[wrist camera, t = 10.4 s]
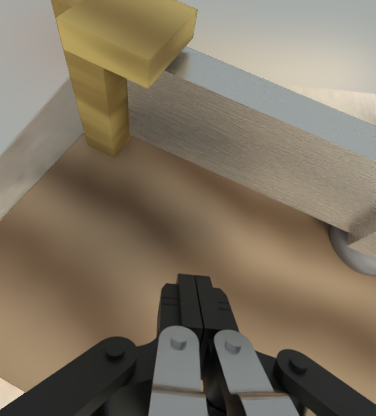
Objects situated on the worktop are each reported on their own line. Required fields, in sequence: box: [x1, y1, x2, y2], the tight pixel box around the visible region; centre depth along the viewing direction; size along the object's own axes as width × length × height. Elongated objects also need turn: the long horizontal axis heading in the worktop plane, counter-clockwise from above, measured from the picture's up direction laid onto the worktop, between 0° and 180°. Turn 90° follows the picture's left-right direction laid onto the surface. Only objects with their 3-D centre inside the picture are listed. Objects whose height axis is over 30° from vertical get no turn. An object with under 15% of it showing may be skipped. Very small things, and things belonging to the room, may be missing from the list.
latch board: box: [0, 0, 376, 416], centre depth 14 cm, size 21×26×12 cm
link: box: [127, 46, 376, 259], centre depth 17 cm, size 21×5×6 cm, turn 66°
